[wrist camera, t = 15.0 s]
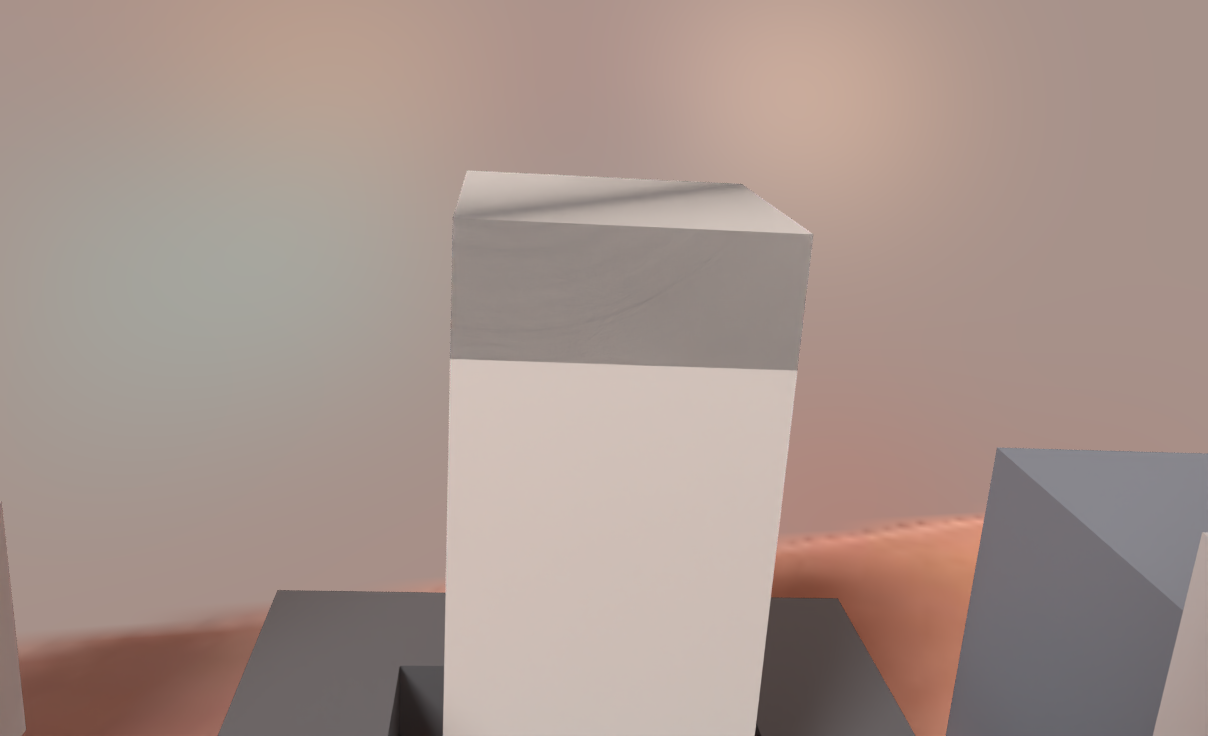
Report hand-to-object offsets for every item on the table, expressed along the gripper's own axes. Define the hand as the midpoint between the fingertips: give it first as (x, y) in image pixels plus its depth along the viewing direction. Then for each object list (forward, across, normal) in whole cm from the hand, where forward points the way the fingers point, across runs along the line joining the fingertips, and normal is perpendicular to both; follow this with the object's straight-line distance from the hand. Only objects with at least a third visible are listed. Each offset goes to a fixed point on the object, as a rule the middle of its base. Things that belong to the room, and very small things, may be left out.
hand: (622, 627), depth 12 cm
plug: (+7, 0, -10) cm, 12 cm away
